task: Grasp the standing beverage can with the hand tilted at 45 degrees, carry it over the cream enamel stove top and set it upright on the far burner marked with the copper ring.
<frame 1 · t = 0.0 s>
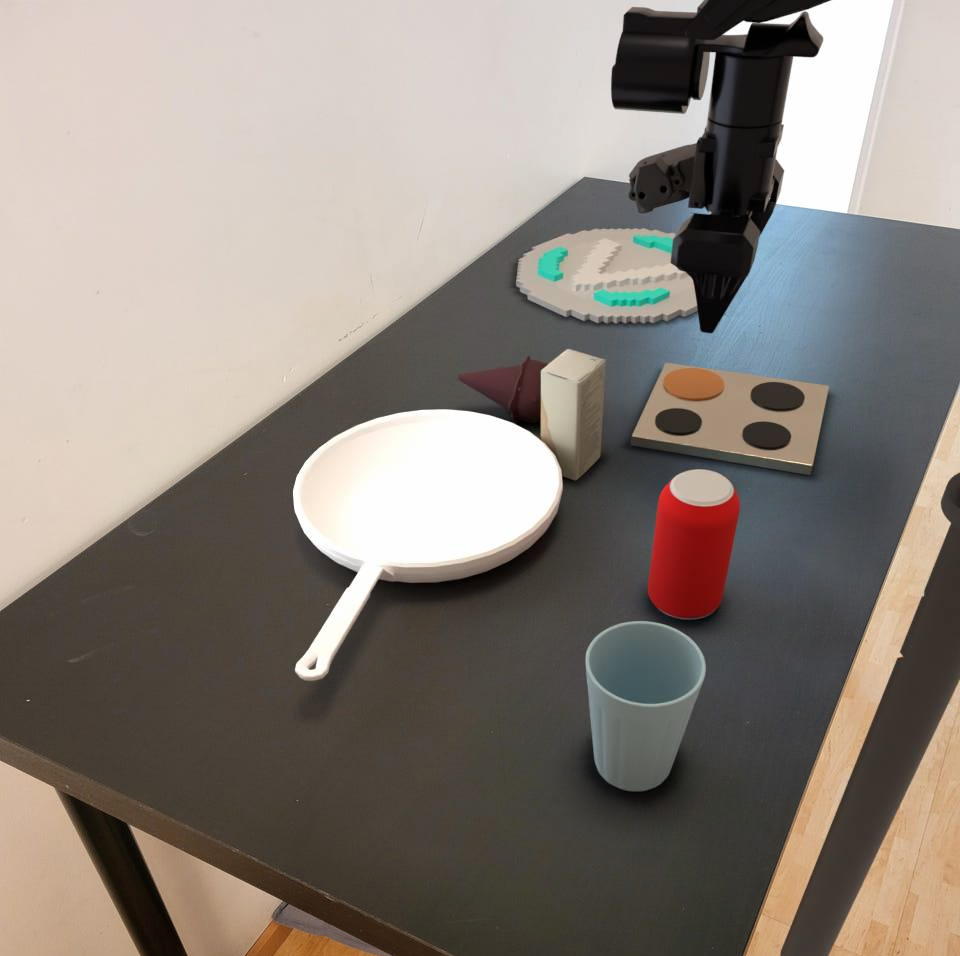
hand: (716, 309, 84), 16 cm above the table, tool pointing down, fingers open, 9 cm apart
grey teal round disc: (622, 276, 126), on the table
stove: (731, 419, 99), on the table
icecream: (526, 419, 101), on the table
pan: (405, 560, 85), on the table
cup: (632, 763, 68), on the table
box: (570, 465, 95), on the table
beverage can: (683, 603, 80), on the table
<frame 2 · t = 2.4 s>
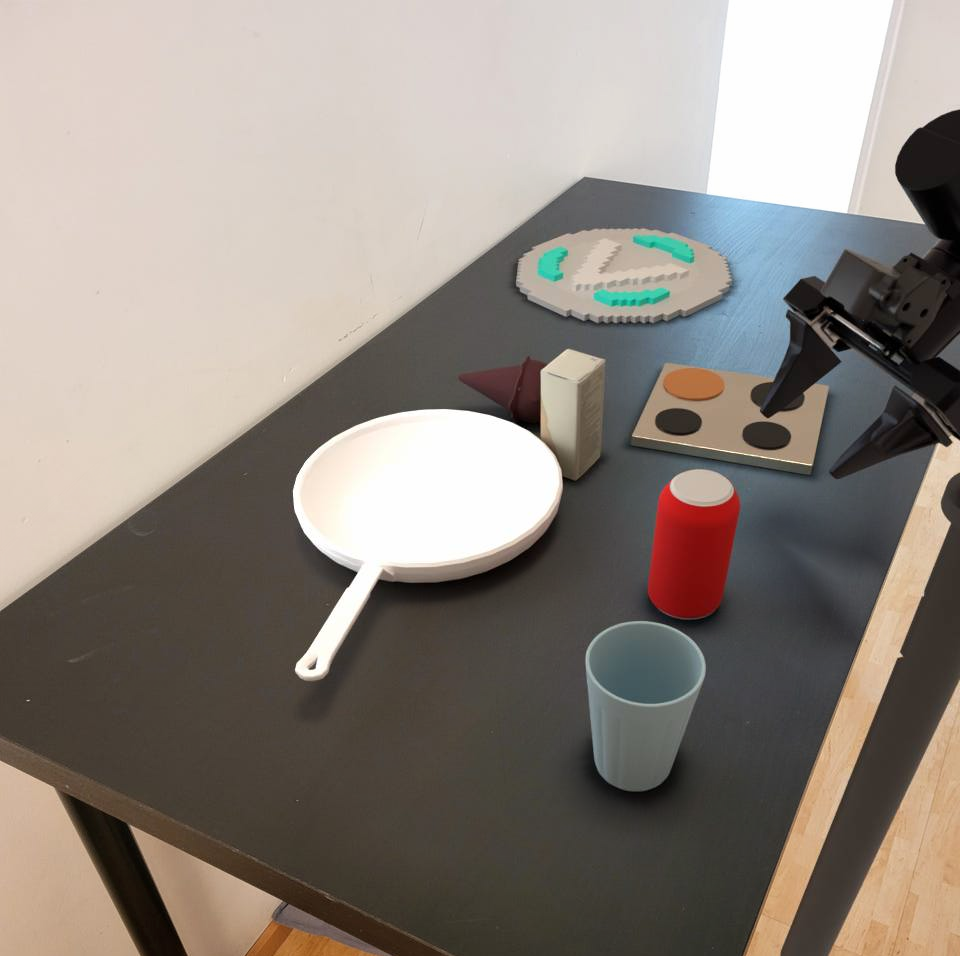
hand: (796, 444, 72), 13 cm above the table, tool tilted 45°, fingers open, 9 cm apart
nothing on the table moved.
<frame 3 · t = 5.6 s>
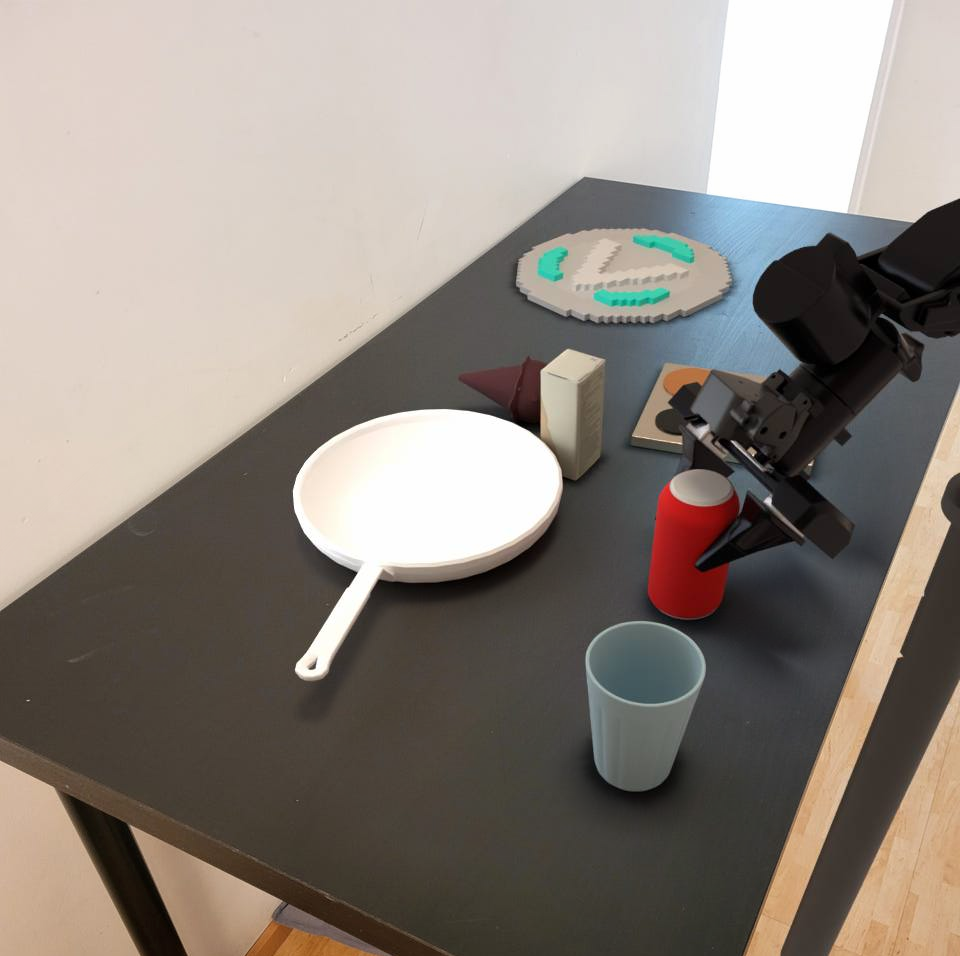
hand: (677, 545, 74), 7 cm above the table, tool tilted 45°, fingers closed on beverage can, 6 cm apart
beverage can: (683, 603, 80), on the table, touching gripper
everything else where it was.
when the fingers open (8 cm above the table, at t = 15.0 s): beverage can stays where it is, resting on stove.
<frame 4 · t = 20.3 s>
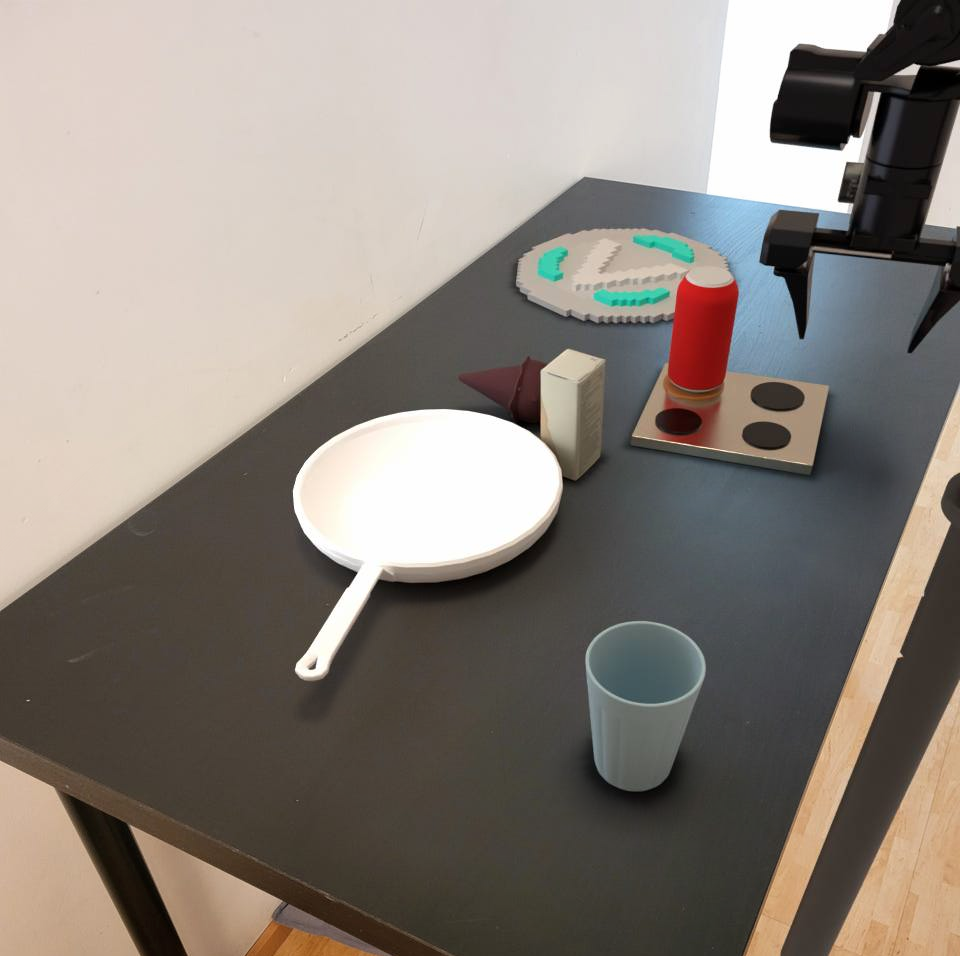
hand: (854, 344, 84), 13 cm above the table, tool pointing down, fingers open, 9 cm apart
beverage can: (694, 384, 103), point 1 cm above the table, touching stove
everything else where it was.
at the end: beverage can 0.2 cm from the target spot on the stove, point 1.2 cm above the stove's base; beverage can tilted 0°; the gripper is holding nothing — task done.
